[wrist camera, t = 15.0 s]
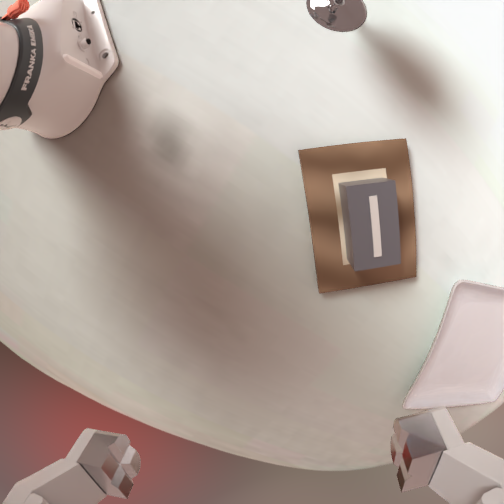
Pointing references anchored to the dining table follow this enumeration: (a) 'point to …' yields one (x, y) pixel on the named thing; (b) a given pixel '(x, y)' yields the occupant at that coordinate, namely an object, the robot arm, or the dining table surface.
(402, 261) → the pin board
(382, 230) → the socket block
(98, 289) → the dining table surface
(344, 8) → the wine glass
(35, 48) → the robot arm
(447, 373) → the salad plate
